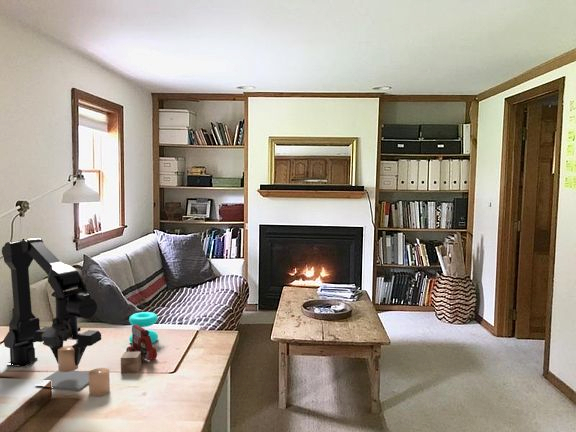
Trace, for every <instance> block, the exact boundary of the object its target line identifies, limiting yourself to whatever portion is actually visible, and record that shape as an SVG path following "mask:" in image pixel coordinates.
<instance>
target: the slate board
mask: <svg viewBox="0 0 576 432" xmlns="http://www.w3.org/2000/svg"><path fill="white" fill-rule="evenodd" d="M89 372H90V371H82V370H81V371H80V370H74V371H70V372H60V371H59V370H58V369H57V370H56V371H55V372H53V373H51V374H50V375H48V376H46V377H45V378H44V379H42V380H51V381H52V387H53V388H52V389H54V388H55V389H56V390H67V391H76V392H80V391H81V390H83V389H84V388H86V387H87V386H89Z"/></svg>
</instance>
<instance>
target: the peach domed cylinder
mask: <svg viewBox="0 0 576 432" xmlns="http://www.w3.org/2000/svg"><path fill="white" fill-rule="evenodd" d="M73 345H74V344H73ZM73 345H71V344H70V345H63V347H61V348H59V349H58V363H57V367H58V368H57V371H58V370H59V371H60V372H70V371H77V370H78V369H79V364H78V365H77V366H76V365H75V350H74V348H73V347H72V346H73Z"/></svg>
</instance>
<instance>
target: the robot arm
mask: <svg viewBox="0 0 576 432" xmlns="http://www.w3.org/2000/svg"><path fill="white" fill-rule="evenodd" d="M1 254H2V256H3V261H4V263H5V265H7V267H8V268H9V269H10V274H11V275H10V276H11V288H12V289H11V290H12V302H13V303H12V304H13V316H12V318H11V320H10V322H9V326H8V328H9V329H8V330H9V331H8V332H7V334H6V335H5V337H4V339H3V345H4V347H6V348H8V349H9V356H10V357H9V361H8V363H11V365H12V364H13V365H19V366H18V367H20V366H25V367H26V365H27V366H29V365H30V364H32V363H34V362H35V361H37V360H38V359H39V358H38V357H36V349H35V347H34V345H35V343H37V342H38V343H42V344H43V345H44V346H47V347H49V349H50V351H51V352H52V353H53V356H54V358H55V361H56V363H57V364H58V349H59V348H61V347H63V346H64V342H67V341H68V340H72V341H73V340H74V341H75V342H76V343H75V344H73V346H72V347H73V348H74V350H75V365H76V366H77V365H78V366H79V365H80V362H81V359H82V357H83V355H84V353H85V350H86V349H87V347H92V346H93V345H95V344H97V343H98V342H100V341H102V333H101V331H99V330H93V329H92V330H91V329H88V330H86V331H84V332H82V333H81V326H78V323H79V322H78V319H79V318H82V319H84V320H87V319H91V318H92V317H93V316H94V315H95V314H96V312H97V308H98V305H97V302H96V301H95V300H94V299H93V298H91V294H90V293H88V288H87V285H86V283H85V282H84V281H83V279H82V276H81V275H80V274H81V273H79V271H78V270H77V269H76V268H74V267H73V266H71V265H69V264H65V263H63V262H62V261H61V260H60V259H59V258H58V257H57V256H56V255H55V254H54V252H52V251H51V250H50V248H48V247H47V246H46V245H45V244H44V241H43V239H42V238H39V237H33V238H25V239H24V240H16V241H15V240H14V241H7V242H5V244H4V245H3V246H2V247H1ZM33 261H35V262H36V263H37V265H38V266H39V267H40V268H41V269H42V271H44V272H45V273H46V275H47V282H48V284H49V285H50V288H51V289H52V290H53V292H52V293H51V295H50V296H51V297H54V298H55V317H53V318H52V323H51V324H52V325H50V326H44V327H41V325H40V319H39V317H36V315H34V314H33V312H32V297H31V285H30V283H31V282H30V272H29V270H30V269H29V267H30V266H31V265H32V262H33ZM79 332H80V333H79Z"/></svg>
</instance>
